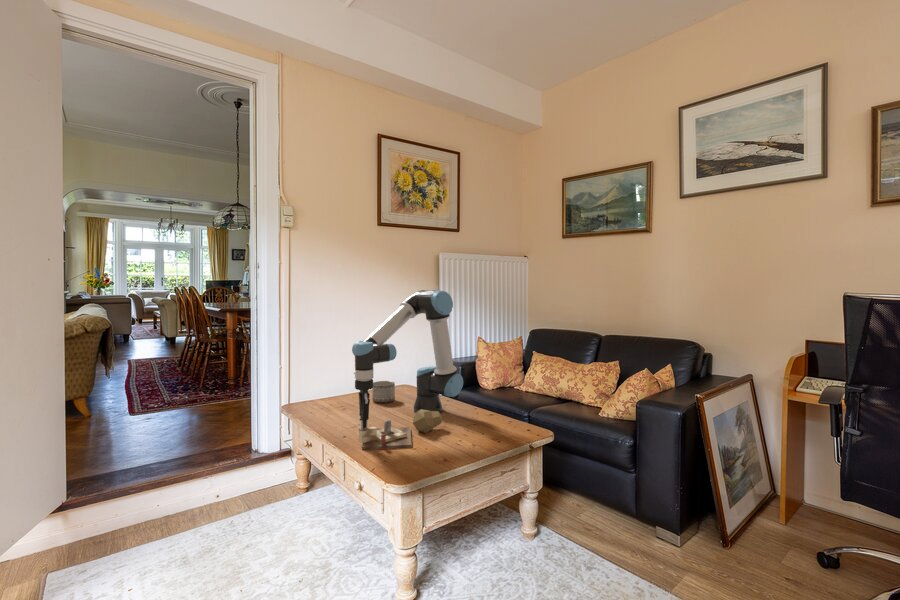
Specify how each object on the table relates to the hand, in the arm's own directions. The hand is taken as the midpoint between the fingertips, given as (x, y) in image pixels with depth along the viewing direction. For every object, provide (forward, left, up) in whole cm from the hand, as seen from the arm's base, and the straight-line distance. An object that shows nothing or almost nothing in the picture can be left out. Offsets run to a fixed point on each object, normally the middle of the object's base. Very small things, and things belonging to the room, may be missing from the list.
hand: (363, 434), depth 184 cm
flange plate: (-7, -2, -2) cm, 7 cm away
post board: (-10, -4, -4) cm, 11 cm away
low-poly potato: (-28, -13, -4) cm, 31 cm away
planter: (-6, -66, -4) cm, 66 cm away
